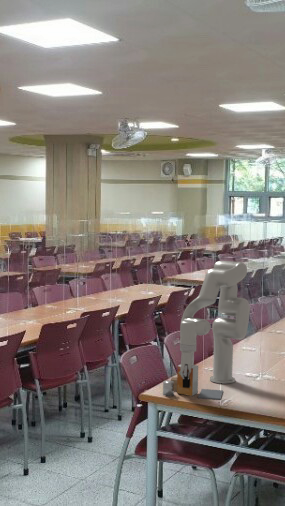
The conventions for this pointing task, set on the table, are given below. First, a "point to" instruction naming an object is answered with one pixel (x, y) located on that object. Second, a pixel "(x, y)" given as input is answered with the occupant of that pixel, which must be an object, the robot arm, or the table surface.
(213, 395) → the slate mat
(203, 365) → the table surface
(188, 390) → the small box
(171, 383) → the grey metal cylinder
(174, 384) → the walnut block
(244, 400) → the table surface
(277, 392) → the table surface
